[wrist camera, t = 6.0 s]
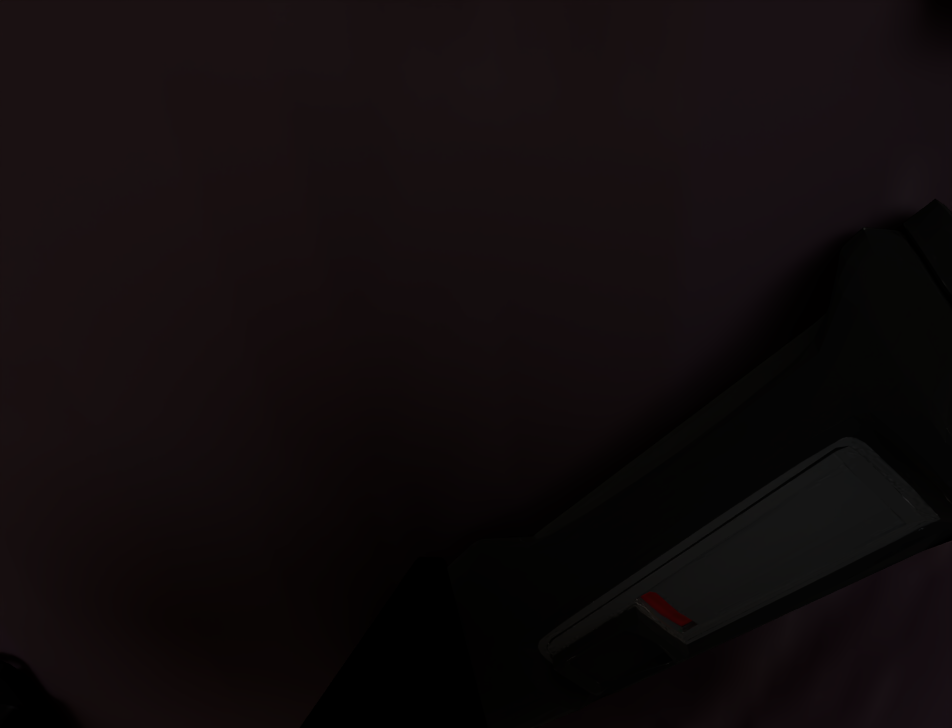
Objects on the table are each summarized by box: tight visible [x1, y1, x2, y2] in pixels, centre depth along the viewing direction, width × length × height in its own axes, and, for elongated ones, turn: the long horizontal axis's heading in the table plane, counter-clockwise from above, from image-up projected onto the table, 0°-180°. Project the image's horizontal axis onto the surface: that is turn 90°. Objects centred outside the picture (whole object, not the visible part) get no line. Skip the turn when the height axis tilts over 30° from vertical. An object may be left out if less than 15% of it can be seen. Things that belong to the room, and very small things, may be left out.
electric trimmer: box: [447, 199, 952, 728], centre depth 8 cm, size 4×16×3 cm, turn 139°
